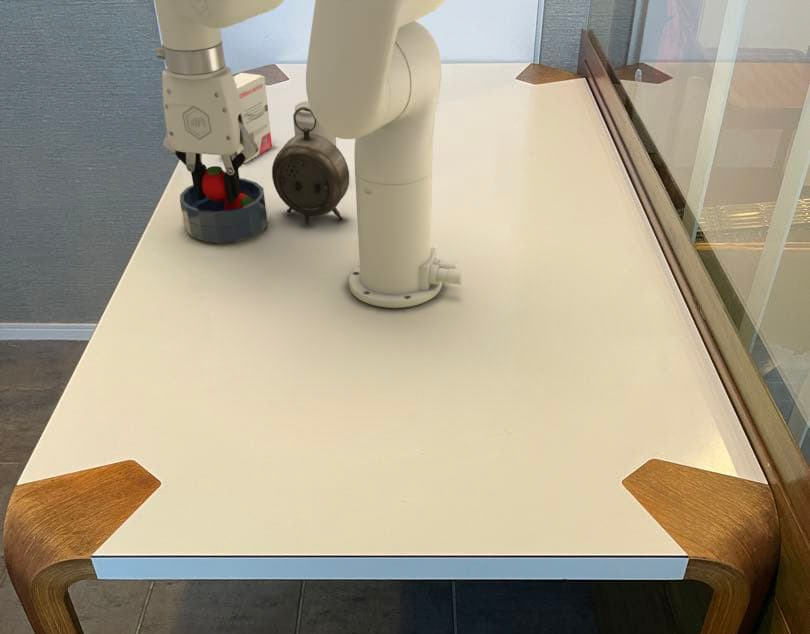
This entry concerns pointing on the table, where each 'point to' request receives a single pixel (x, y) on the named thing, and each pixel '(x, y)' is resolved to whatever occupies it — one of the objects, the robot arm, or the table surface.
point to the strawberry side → (214, 184)
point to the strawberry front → (238, 202)
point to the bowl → (224, 215)
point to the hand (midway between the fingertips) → (218, 196)
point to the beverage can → (310, 123)
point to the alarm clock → (310, 174)
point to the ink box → (254, 110)
